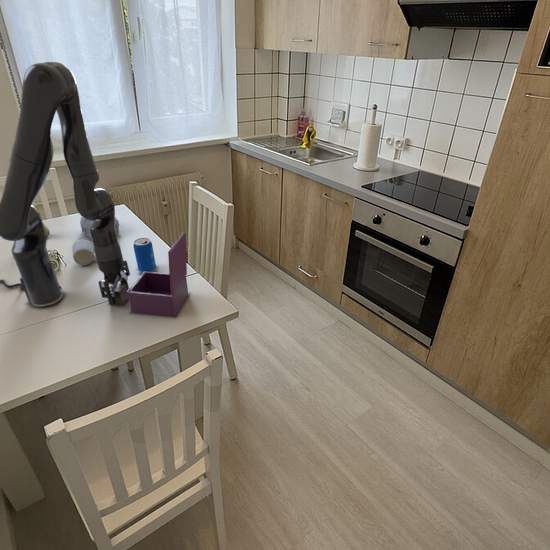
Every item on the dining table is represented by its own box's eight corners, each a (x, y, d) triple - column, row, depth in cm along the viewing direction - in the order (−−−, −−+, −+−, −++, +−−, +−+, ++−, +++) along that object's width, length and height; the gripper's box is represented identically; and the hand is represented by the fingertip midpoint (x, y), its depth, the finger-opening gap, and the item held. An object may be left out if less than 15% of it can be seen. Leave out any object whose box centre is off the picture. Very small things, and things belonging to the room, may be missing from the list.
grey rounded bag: (125, 234, 171) (110, 219, 184) (121, 217, 166) (106, 202, 180) (89, 244, 163) (76, 227, 176) (84, 226, 158) (71, 210, 172)
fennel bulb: (38, 234, 170) (29, 208, 163) (50, 232, 172) (42, 206, 165) (37, 240, 165) (28, 213, 159) (50, 238, 167) (41, 212, 161)
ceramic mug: (75, 268, 147) (70, 250, 143) (75, 258, 153) (70, 240, 149) (105, 263, 151) (101, 245, 147) (104, 253, 157) (100, 236, 153)
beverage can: (151, 275, 144) (146, 246, 137) (135, 273, 145) (129, 244, 138) (159, 266, 149) (154, 238, 142) (143, 264, 150) (138, 236, 144)
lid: (168, 251, 111) (170, 252, 110) (183, 232, 121) (185, 232, 121) (170, 295, 119) (173, 295, 119) (184, 273, 129) (186, 273, 129)
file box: (131, 312, 125) (126, 292, 121) (147, 290, 136) (144, 271, 131) (175, 316, 123) (172, 296, 119) (188, 294, 134) (185, 274, 130)
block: (110, 303, 129) (106, 290, 126) (116, 296, 132) (113, 283, 129) (122, 305, 128) (119, 291, 125) (128, 297, 132) (125, 284, 129)
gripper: (108, 243, 127) (119, 284, 136) (84, 265, 115) (98, 309, 124) (130, 244, 126) (139, 286, 135) (108, 267, 114) (120, 311, 123)
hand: (119, 297), depth 130 cm, fingers open, 8 cm apart
